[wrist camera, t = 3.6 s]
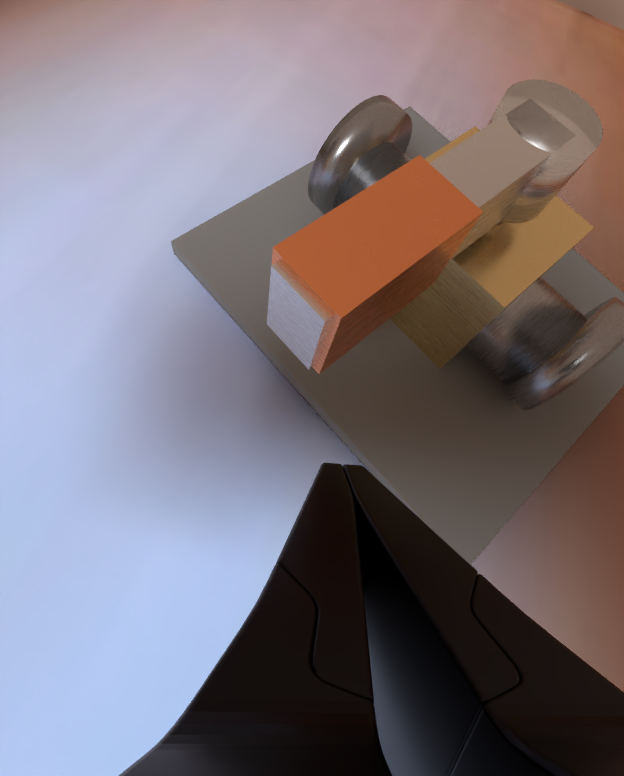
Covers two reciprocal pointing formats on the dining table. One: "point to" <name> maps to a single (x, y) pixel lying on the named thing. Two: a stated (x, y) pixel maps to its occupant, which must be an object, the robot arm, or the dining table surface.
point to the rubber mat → (409, 376)
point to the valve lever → (423, 221)
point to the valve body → (480, 272)
